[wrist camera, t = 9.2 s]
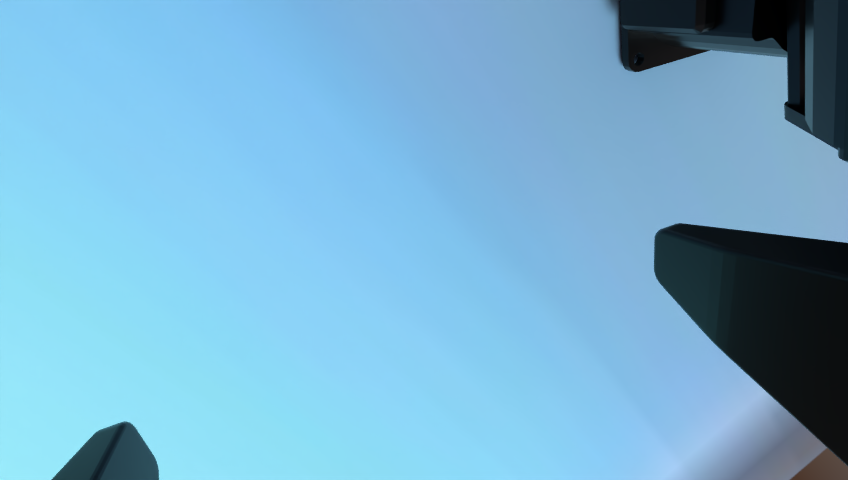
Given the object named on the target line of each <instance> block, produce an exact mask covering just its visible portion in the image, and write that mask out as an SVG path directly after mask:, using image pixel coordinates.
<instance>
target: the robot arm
mask: <svg viewBox="0 0 848 480" xmlns="http://www.w3.org/2000/svg"><path fill="white" fill-rule="evenodd" d="M620 16H621V26H622V63H623V66H624V68H625V69H626V70H628V71H633V72H639V71H643V70H646V69H649V68H653V67H656V66H660V65H663V64H666V63H670V62H673V61H676V60H680V59H683V58H686V57H690V56H693V55H696V54H700V53H703V52H706V51H710V50H715V51H726V52H736V53H746V54H757V55H767V56H778V57H787V75H788V101H787V102H786V103H785V104H784V108H785V119H786V120H787V121H789V122H791V123H792V124H794V125H796V126H798V127H799V128H801V129H803V130H804V131H806V132H808V133H810V134H811V135H813V136H815V137H816V138H818V139H820V140H822V141H823V142H825V143H827V144H828V145H830V146H832V147H834V148H835V149H837V150H838V156H839V158H840V159H842V160H844V161H846V162H848V0H620ZM636 54H637V55H638V59H637V61H636V63H635V64H634V57H635V55H636ZM654 272H655V275H656V278H657V280H658V281H659V283H660V284H661V285H662V286H663V287H664V289H665V290H666V291H667V292H668V293H669V294H670V295H671V296H672V297H673V299H674V300H675V301H676V302H677V303H678V304H679V305H680V306H681V307H682V309H683V310H684V311H685V312H686V313H687V314H688V315H689V316H690V317H691V319H692V320H693V321H694V322H695V323H696V324H697V325H698V326H699V328H700V329H701V330H702V331H703V332H704V333H705V334H706V335H707V336H708V337H709V338H710V339H711V340H712V342H713V343H714V344H715V345H716V346H717V347H718V348H719V349H721V350H722V351H723V352H724V353H725V354H726V355H727V356H728V357H729V358H730V359H731V360H732V361H733V362H734V363H736V364H737V365H738V366H739V367H740V368H741V369H742V370H743V371H744V372H745V373H746V374H748V375H749V376H750V377H751V378H752V379H753V380H754V381H755V382H756V383H757V384H758V385H760V386H761V387H762V388H763V389H764V390H765V391H766V392H767V393H768V394H769V395H770V396H772V397H773V398H774V399H775V400H776V401H777V402H778V403H779V404H780V405H781V406H782V407H784V408H785V409H786V410H787V411H788V412H789V413H790V414H791V415H792V416H793V417H794V418H796V419H797V420H798V421H799V422H800V423H801V424H802V425H803V426H804V427H805V428H806V429H808V430H809V431H810V432H811V433H812V434H813V435H814V436H815V437H816V438H817V439H819V440H820V441H821V442H822V443H823V444H824V445H825V446H826V447H827V448H828V449H829V450H831V451H832V452H833V453H834V454H835V455H836V456H837V457H838V458H839V459H840V460H841V461H843V462H844V463H845V464H846V465H847V466H848V243H843V242H835V241H826V240H818V239H809V238H801V237H793V236H784V235H776V234H767V233H759V232H750V231H742V230H733V229H725V228H716V227H708V226H699V225H691V224H682V223H679V224H674V225H671V226H669V227H666V228H663V229H660V230H659V231H658V232H657V233H656V235H655V242H654ZM52 480H159V470H158V465H157V462H156V459H155V457H154V455H153V454H152V452H151V451H150V449H149V448H148V446H147V445H146V443H145V442H144V440H143V439H142V437H141V436H140V434H139V433H138V431H137V429H136V428H135V427H134V426H133V425H132V424H131V423H130V422H121V423H118V424H115V425H112V426H110V427H107V428H104V429H101V430H99V431H97V432H96V433H95V434H94V435H93V436H92V437H91V438H90V439H89V440H88V441H87V442H86V443H85V444H84V445H83V447H82V448H81V449H80V450H79V451H78V452H77V453H76V454H75V455H74V456H73V457H72V458H71V459H70V460H69V462H68V463H67V464H66V465H65V466H64V467H63V468H62V469H61V470H60V471H59V472H58V473H57V474H56V475H55V477H54V478H53V479H52Z"/></svg>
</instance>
